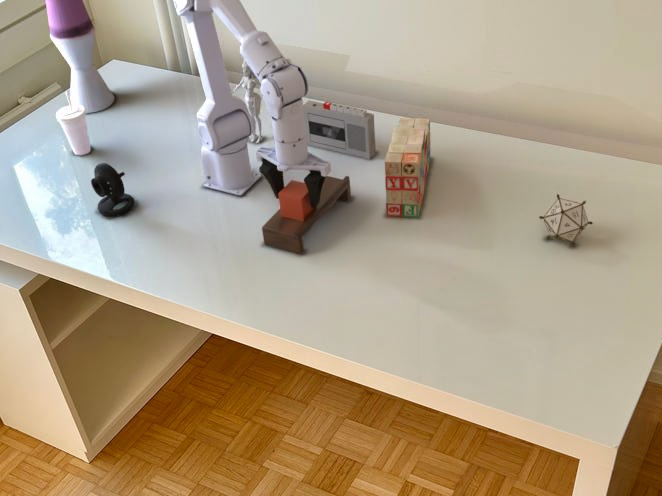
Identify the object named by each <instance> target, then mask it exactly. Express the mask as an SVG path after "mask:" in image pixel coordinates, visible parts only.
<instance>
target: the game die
mask: <svg viewBox="0 0 662 496" xmlns="http://www.w3.org/2000/svg"><path fill="white" fill-rule="evenodd" d="M556 198H557V199H556V200H555V202H554V203H553V204H552V206H551V207H550V208H549V209H548V210H547V211H546V213H545V214H544V215H540V216H538V219H539V220H543V222H544V225H545V228H546V230H547V233H548V235H547V236H546V240H550V238H554V240H557V239H558V240H562V241H566V242H569V243H571V245H572V246H573V247H575V246H576V243H575V241H576V240H577V238H578V237H579V236H580V235H581V233H582V232H583V231H584V230H586V227H587V226H588V225H593V224H594V222H593V221H589V219H588V216H587V212H586V209H585V207H584V205H585V204H587V200H583V201H582V202H577V201H573V200H569V199H565V198H561V197H560V194H559V193H556Z"/></svg>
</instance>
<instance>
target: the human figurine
mask: <svg viewBox="0 0 662 496" xmlns="http://www.w3.org/2000/svg"><path fill="white" fill-rule="evenodd" d="M241 66H242V72H243V76H242V77H241V80H240V82H239V83H238V84H236V85H235V88H234V89H233V90H231V93H232V95H234V93H235V91H237V90H238V89H239V88H241V87H242V89H244V90H245V95H244V100H243V101H244V102H245V103H246V106H247V109H248V112H249V114H250V115H251V117H252V120H253V124H254V129H253V133H252V138H251V139H250V142H251V143H255V144H260V143H261V142H262V140H264V139H263V138H264V136H263V135H262V121H261V118H260V116H259V115H260V113H261V107H262V97H261V96H262V95H261V94H260V93H259V92H255V87H256V86H257V87H258V88H259V89H260V86H261V83H260V81H259V80H258V78H257V77H256V75H255V74H254V73H253V71H252V70H251V68H250V67H249V65H248V64H247V63H246V61H245V60H244V59H243V62H242V65H241ZM256 124H257V127H256ZM257 129H258V135H257V134H256V133H257V132H256V130H257Z"/></svg>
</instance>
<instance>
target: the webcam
mask: <svg viewBox="0 0 662 496" xmlns="http://www.w3.org/2000/svg"><path fill="white" fill-rule="evenodd" d="M93 175H94V177H93V178H92V179H91V181H90V184H91V187H92V190H93V191H94V192H95V194H96V195H97V196H99V197H100V198H101V199H100V200H99V202H98V203H97V211H98V213H99V214H100V215H102V216H104V217H107V218H116V217H120V216H124V215H126V214H128V213H129V212H131V211H132V210H133V209H134V207H135V199H134V197H133V196H132V195H131V194H128V193H126V192H125V191H126V190H125V185H124V181H123V180H122V177H124V176H125V172H124V171H122V172H120V173H119V172H118V171H117V170H116V169H115V168H114V167H113V166H112V165H111V164H109V163H107V162H100V163H98V164H97V165H95V167H94V170H93ZM123 202H126V204H125V205H124V206H122V207H120V208H116V209H114V208H115V207H116V206H118V205H119V204H121V203H123Z"/></svg>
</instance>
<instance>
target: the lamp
mask: <svg viewBox="0 0 662 496" xmlns="http://www.w3.org/2000/svg"><path fill="white" fill-rule="evenodd" d="M45 5H46V13H47V19H48V27H49V37H50V39H51V41H52V42H53V43H54V45H55V46H56V48H57V49H58V51H59V52H60V54H61V56H63V57H64V60H65V61H66V62H67V64H68V65H69V67H70V95H69V97H70V100H71V104H72V105H81V106H83V107H84V108H85V111H86V114H91V113H92V114H93V113H97V112H100V111H103V110H105V109H107V108H109V107H110V106H112V104H113V103H114V101H115V96H114V94H113V92H112V91H111V89H110V88H109V87H108V85H107V83H106V82H105V80H104V79H103V77H102V75H101V74H100V72H99V71H98V69H97V68H96V65H94V51H95V35H96V33H95V32H96V27H95V25H94V24H93V22H92V20H91V17H90V15H89V12H88V10H87V7H86V5H85V3H84V1H83V0H45Z"/></svg>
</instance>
